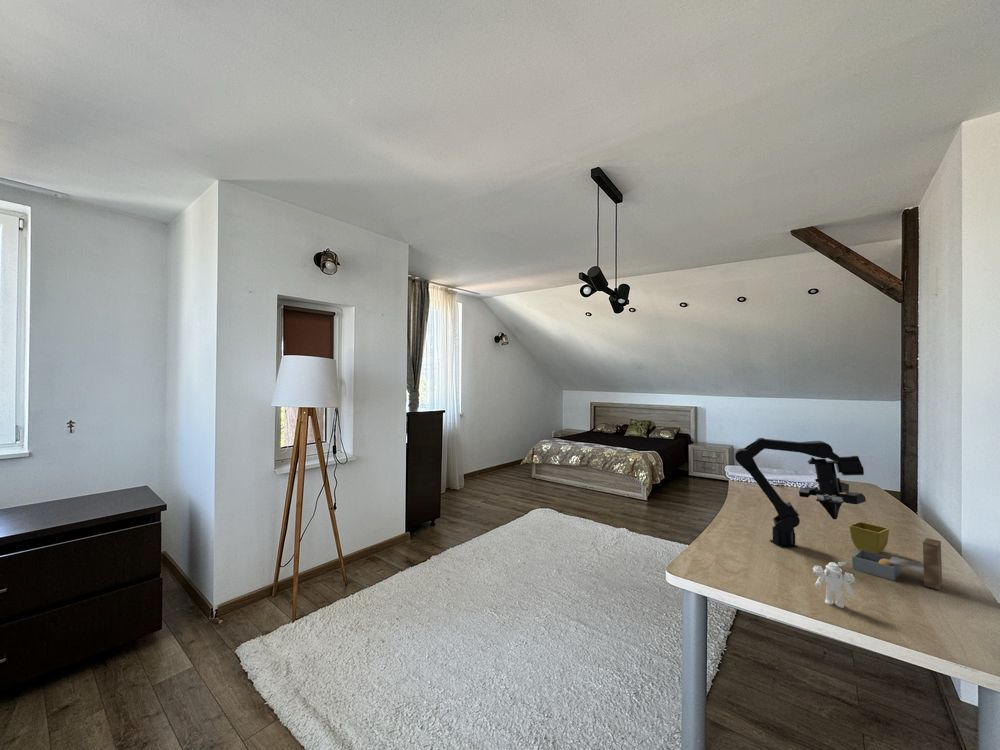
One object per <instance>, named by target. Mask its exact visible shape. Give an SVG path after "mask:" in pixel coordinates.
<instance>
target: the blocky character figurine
mask: <svg viewBox="0 0 1000 750" xmlns="http://www.w3.org/2000/svg"><path fill="white" fill-rule="evenodd" d="M847 563H848V562H847V561H844V562H843V561H841V562H840V561H838V562H837V563H835V562H833V561H831V562H829V563H828V564H826V565H825V569H823V567H822V566H820V565H813V567H812V570H813V571H812V573H813V574H815V575H816V576H817V577H818V578H817V580H816V582H815V583H814V585H815V588H819V587H821V586H822V582H823V581H825V582H826V586H825V589H826V590H825V600H824V603H825V604H827V605H830V606H831V605H834V601H833V594H834V593H835V605H836V607H838V608H842V609H843V608H845V604H844V601H843V592H842V588H841V587H842V586H843V585H844V586H845V588H846V590H845V594H847V593H848V595H849V596H848V597H849V598H853V596H854V592H853V590H852V587H851V585H850V584H852V583H854V584H856V581H855V580H856V578H855V577H854V574H852V573H849V572H845V573H844V575H843V574H842V572H843V570H842V569H841V568H840V567H843V566H845V565H847Z"/></svg>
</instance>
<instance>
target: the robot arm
mask: <svg viewBox="0 0 1000 750" xmlns="http://www.w3.org/2000/svg"><path fill="white" fill-rule="evenodd" d="M833 449H834V448H833V447H832V446H831V445H830V444H829V443H827V442H826V441H822V440H811V441H810V440H809V441H792V440H791V441H790V440H781V439H770V438H764V437H759V438H757V439H756V440H755V441H753V442H751V443H750V444H749V445H746V447H744V448H741V447H740V448H738V449H736V451H735V454H734V458H735V462H737V463H738V464H739V465H740V466H741V467H742V468H743V469H744V470H745V471H747V472H748V473H749V475H750V476H751V477H752V478H753V479H754V481H755V483H756V484H757V485H758V486H759V488H760V489H761V490H762V492H763V493H764V494H765V496H766V497H767V499H768V500H769V501H770V502H771V504H772V505H773V507H774V509H775V511H776V513H777V515H776V516H774V517H773V518H772V521H773V523H774V526H771V527H772V539H770V540H769V542H770V541H771V543H772V542H773V544H774V545H776V546H778V547H779V548H782V547H783V548H784V547H785V548H798V547H799V546H798V545H796V533H795V528H797V527H798V526H799V525H800V522H801V520H800V517H799V516H800V513H799V512H798V510H797V509H795V507H793V505H792V503H791V501H788V502H786V501H785V500H783V499H782V498H781V496H780V494H779V493H778V492H777V491H776V489H774V487H773V485H772V484H771V483H770V482H769V479H767V477H766V476H765V475H764V474H763V472H762V471H761V469H759V467H758V465H757V463H756V461H755V459H754V458H755V457H756V456H757V455H759V453H761V452H762V451H764V450H773V451H783V452H791V453H792V452H793V453H801V454H804V455H808V456H811V457H810V458H809V460H807V463H808V464H809V465H814V467H815V468H814V469H815V474H816V478H815V480H814V481H815V483H817V485H818V488H817V487H811V486H807V487H802V488H800V489H799V491H798V497H801V498H807V499H808V498H809V497H810V496H815V497H816V499H815V500H816V502H818V503H819V504H820V505H821V506H823V508H824V509H825V510H826V512H827V514H829V516H830V517H831V519H833V520H837V519H838V517H839V513H840V509H841V506H842V504H843V503H845V504H848V505H849V504H850V505H859V504H863V503H866V502H867V500H866V496H865V495H864V494H863V493H862V492H861V493H860V492H853V491H850V484H848V483H845V482H842V481H841V478H840V477H838V476H837V473H838V474H840V473H841V476H864V474H865V470H864V469H865V468H864V466H863V465H862V462H861V460H860V457H859V456H858V455H850V456H839V455H838V454H837V453H835V452H834V450H833ZM814 457H815V458H814ZM826 459H829V460H826ZM836 470H837V471H836Z"/></svg>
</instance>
